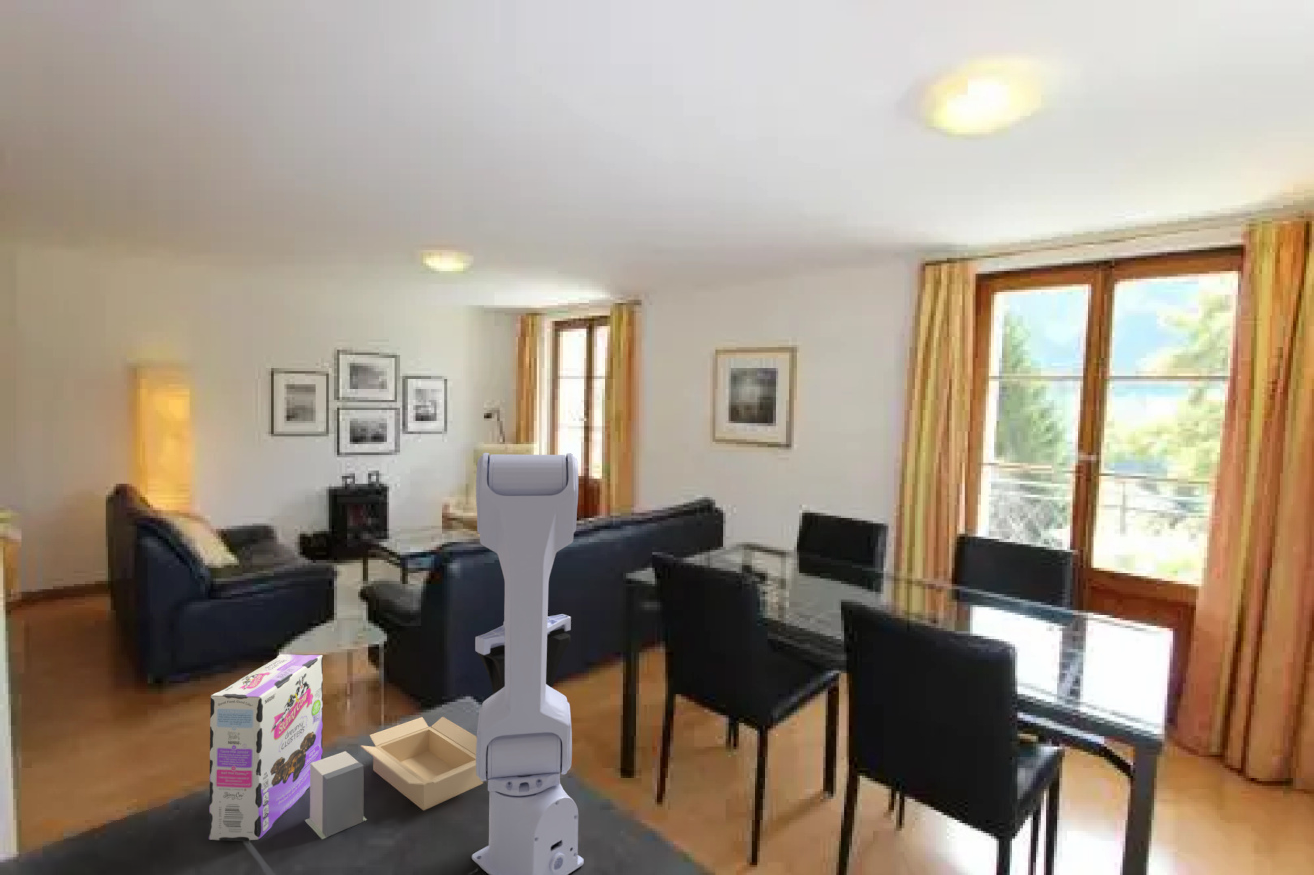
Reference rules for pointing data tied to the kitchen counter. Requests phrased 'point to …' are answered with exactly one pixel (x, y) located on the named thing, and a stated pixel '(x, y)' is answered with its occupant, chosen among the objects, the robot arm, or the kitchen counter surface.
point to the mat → (318, 828)
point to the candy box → (263, 745)
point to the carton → (426, 760)
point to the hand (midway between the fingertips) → (524, 693)
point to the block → (336, 793)
